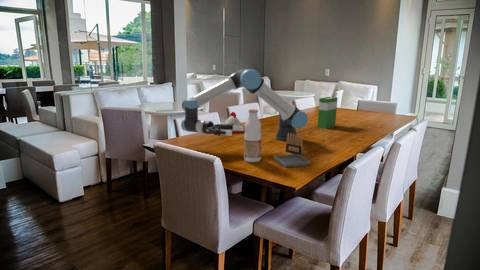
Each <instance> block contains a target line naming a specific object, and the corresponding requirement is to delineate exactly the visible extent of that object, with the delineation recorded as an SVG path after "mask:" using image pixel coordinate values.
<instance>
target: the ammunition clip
mask: <svg viewBox="0 0 480 270" xmlns="http://www.w3.org/2000/svg"><path fill="white" fill-rule="evenodd" d="M303 147H304V146H303V134H301V135H300V134H296V135H294V133H293V138H292V133H291V134H290V138H289V132H288V136H287V141H286V144H285V152H286V153H290V154H298V155H300V156H302V155H303V153H304V149H303Z"/></svg>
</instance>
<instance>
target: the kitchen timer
mask: <svg viewBox="0 0 480 270" xmlns="http://www.w3.org/2000/svg"><path fill="white" fill-rule="evenodd" d="M224 124H234V125H235V126H242V122H241V121H240V120H239V118H238V117H237V114H236V112H234V111H231V112H230V114H229V117H228V118H227V119H226V120H225V122H224ZM229 131H232V134H238V133H237V132H239V133H242V132H241V131H237V130H229Z"/></svg>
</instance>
